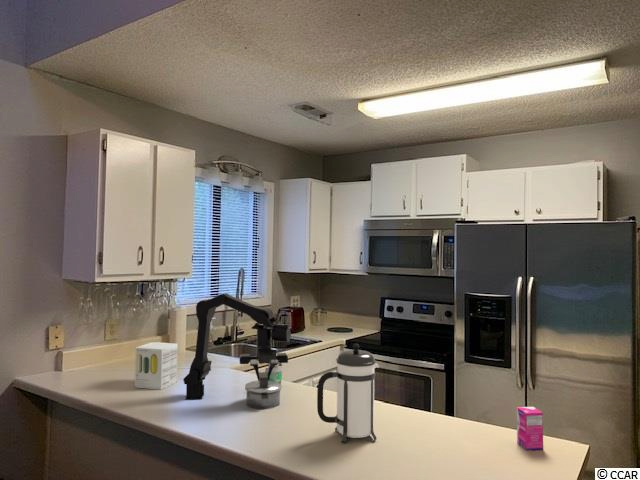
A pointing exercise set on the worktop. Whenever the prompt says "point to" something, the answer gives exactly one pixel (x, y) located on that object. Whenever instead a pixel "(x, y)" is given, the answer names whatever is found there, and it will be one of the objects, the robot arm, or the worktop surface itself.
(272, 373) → the food container
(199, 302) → the robot arm
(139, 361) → the supplement box
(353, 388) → the coffee press
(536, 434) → the supplement box
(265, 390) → the lid
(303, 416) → the worktop surface
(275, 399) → the pot
